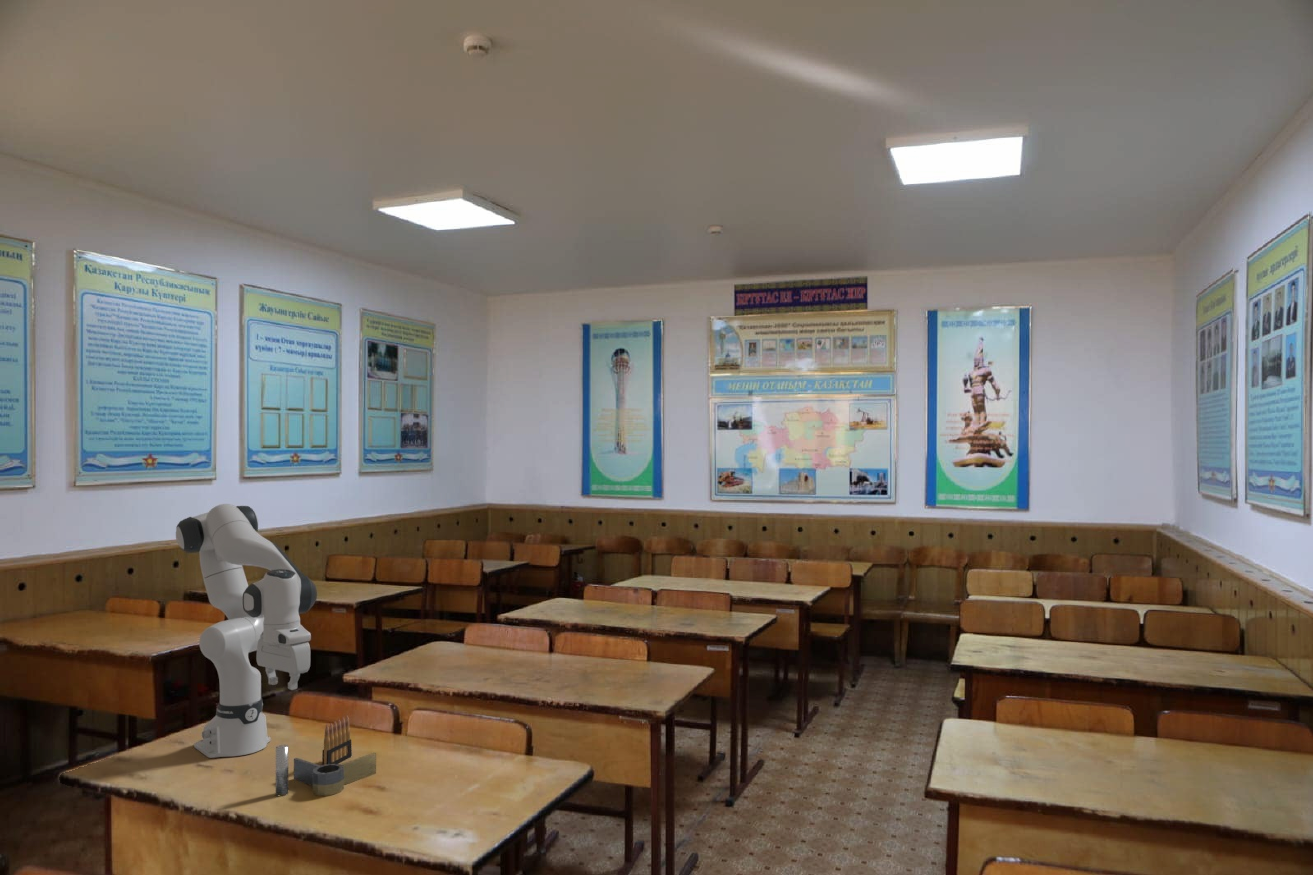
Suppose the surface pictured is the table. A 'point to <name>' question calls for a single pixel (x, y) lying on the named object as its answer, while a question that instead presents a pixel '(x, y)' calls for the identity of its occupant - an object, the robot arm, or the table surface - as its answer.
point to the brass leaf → (349, 775)
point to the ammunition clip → (337, 742)
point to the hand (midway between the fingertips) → (282, 686)
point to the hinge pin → (282, 770)
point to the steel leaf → (317, 772)
